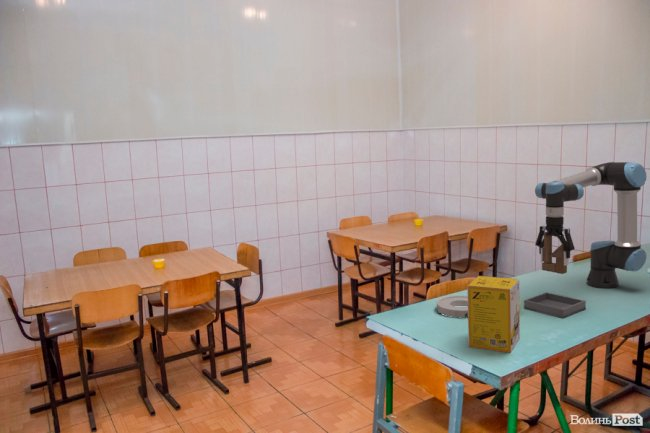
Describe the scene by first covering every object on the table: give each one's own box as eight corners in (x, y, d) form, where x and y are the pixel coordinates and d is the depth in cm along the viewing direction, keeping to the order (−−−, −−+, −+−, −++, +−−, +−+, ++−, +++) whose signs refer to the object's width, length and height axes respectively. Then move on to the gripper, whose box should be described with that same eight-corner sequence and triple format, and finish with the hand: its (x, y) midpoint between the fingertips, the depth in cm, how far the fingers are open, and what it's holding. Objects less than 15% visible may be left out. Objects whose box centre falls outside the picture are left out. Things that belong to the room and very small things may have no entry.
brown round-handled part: (562, 274, 249) (562, 235, 246) (541, 270, 258) (541, 232, 255) (567, 272, 251) (567, 234, 248) (546, 268, 260) (546, 231, 257)
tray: (546, 300, 270) (546, 292, 269) (585, 309, 254) (585, 300, 253) (524, 308, 260) (524, 300, 259) (563, 318, 244) (563, 309, 243)
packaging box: (479, 333, 232) (478, 275, 229) (519, 338, 224) (519, 278, 220) (468, 346, 218) (467, 285, 215) (510, 353, 210) (510, 289, 206)
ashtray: (472, 322, 247) (471, 313, 246) (427, 313, 262) (427, 305, 262) (495, 308, 263) (495, 300, 263) (452, 300, 279) (451, 293, 278)
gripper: (527, 214, 258) (527, 260, 261) (574, 219, 239) (573, 268, 242) (536, 212, 262) (536, 258, 265) (583, 217, 243) (583, 265, 246)
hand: (554, 263), depth 254 cm, fingers closed on brown round-handled part, 11 cm apart
